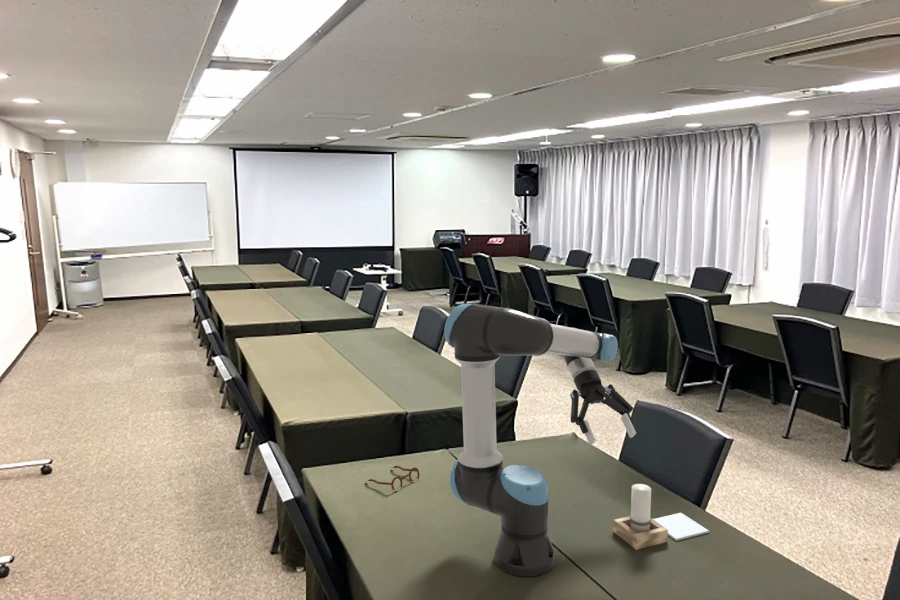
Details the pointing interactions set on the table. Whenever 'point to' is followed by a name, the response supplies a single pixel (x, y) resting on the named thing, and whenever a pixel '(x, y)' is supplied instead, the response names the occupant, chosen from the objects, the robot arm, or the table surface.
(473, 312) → the robot arm
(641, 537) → the collar
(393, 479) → the glasses
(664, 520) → the pad
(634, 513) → the white banded cylinder
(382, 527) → the table surface
